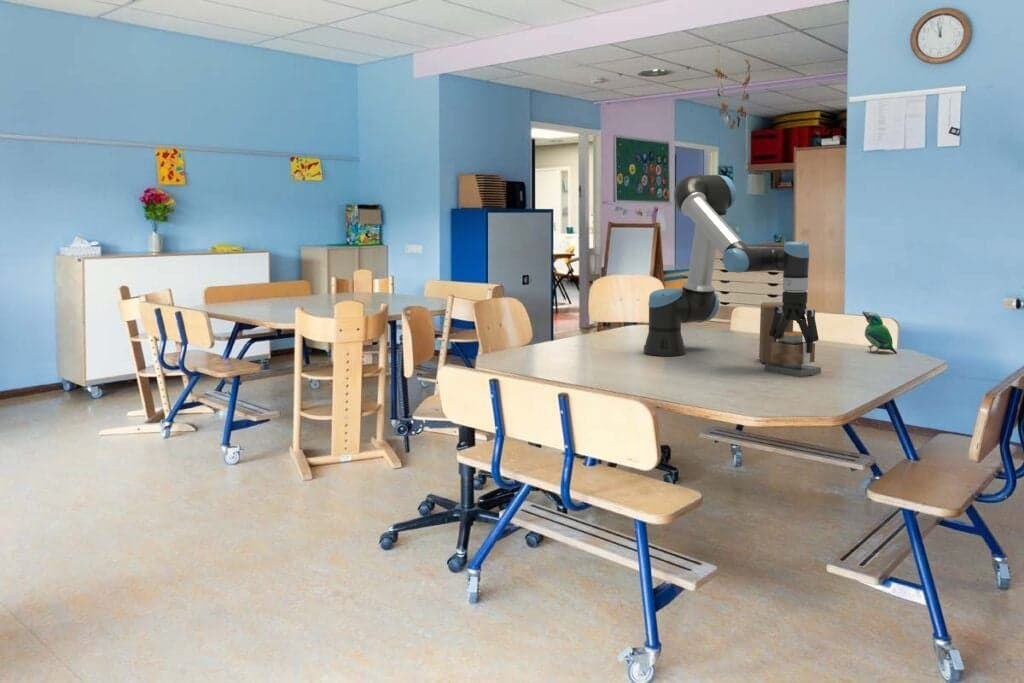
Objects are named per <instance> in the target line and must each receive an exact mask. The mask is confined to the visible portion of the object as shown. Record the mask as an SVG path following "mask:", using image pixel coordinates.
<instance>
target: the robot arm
mask: <svg viewBox="0 0 1024 683" xmlns="http://www.w3.org/2000/svg"><path fill="white" fill-rule="evenodd" d="M673 200H674V203H675V205H676V208H677V209H678V210H679V211H680V212H681V214H683V216H685V217H689V218H690V219H691V221H693V223H695V225H694V227H695V228H694V232H693V233H694V234H693V241H692V248H691V253H690V254H691V255H690V261H689V267H688V268H689V269H688V275H687V276H688V277H687V281H685V282H684V283H683V284H682V287H681V288H682V289H681V288H677V287H675V288H674V287H670V288H662V289H656V290H654V291H652V292H651V293H650V294H649V298H648V333H647V337H646V339H645V344H644V345H643V354H645V355H647V356H648V355H649V356H656V357H676V356H683V355H686V349H687V348H686V346H685V345H684V344H685V343H684V340H683V335H682V324H689V323H703V322H708V321H710V320H712V319H713V318H714V317H715V316H716V315H717V314H718V311H719V308H720V300H719V296H718V294H717V292H716V291H715V287H714V286H713V284H712V281H713V276H714V275H713V273H714V266H715V261H716V255H717V254H716V253H717V250H718V251H719V253H720V254H721V255H722V264H723V267H724V269H725V270H726V271H728V272H729V273H737V274H738V273H749V272H768V271H769V272H771V271H772V272H773V271H777V272H783V273H782V277H783V278H782V290H783V291H782V296H781V297H782V299H781V300H782V301H781V302H783V306H782V307H781V306H779V307H775V308H774V317H773V321H772V325H771V329H770V333H769V335H770V336H772V337H774V339H775V342H780V341H784V339H782V335H783V333H784V331H785V329H786V327H787V325H788V324H789V322H790V321H791V320H793V322H794V321H796V323H797V324H798V326H799V329H800V332H802V334H803V339H804V341H803V342H804V343H803V363H804V365H806V364H810V353H812V344H813V343H815V342H817V341H819V334H818V329H817V323H816V310H815V309H808V308H807V303H808V294H809V293H808V292H807V291H808V289H809V265H810V264H809V263H810V255H811V254H810V245H809V242H806V241H786V242H785V243H784V245H783V247H776V246H775V247H773V246H762V247H748V246H747V245H746V243H744V241H743V240H742V239H741V238H740V237H739V236H738V235H737V234H736V232H734V230H733V229H732V228H731V227H730V226H729V225H728V224H727V223H726V221H725V220H724V219H723V218H725V217H726V216H727V210H728V209H730V208H732V207H733V205H734V204H735V202H736V200H737V189H736V185H735V184H734V182H733V180H732V179H731V178H729V176H726V175H722V174H691V175H686V176H685V177H683V178H682V179H680V180H679V181H678V183H677V184H676V185H675V188H674V192H673ZM782 312H784V315H783V317H782ZM781 317H782V321H781ZM780 321H781V323H780ZM805 363H806V364H805Z"/></svg>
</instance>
